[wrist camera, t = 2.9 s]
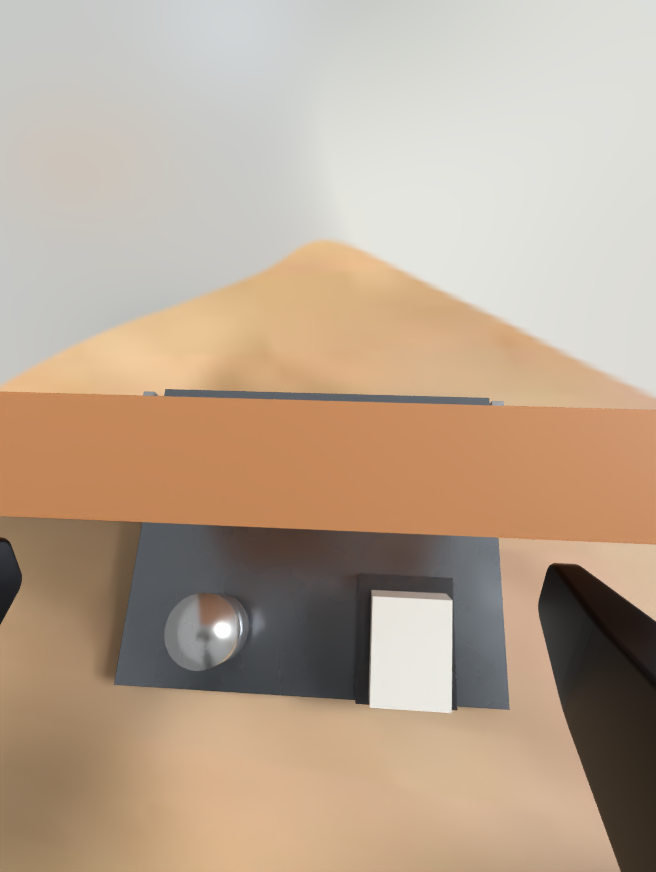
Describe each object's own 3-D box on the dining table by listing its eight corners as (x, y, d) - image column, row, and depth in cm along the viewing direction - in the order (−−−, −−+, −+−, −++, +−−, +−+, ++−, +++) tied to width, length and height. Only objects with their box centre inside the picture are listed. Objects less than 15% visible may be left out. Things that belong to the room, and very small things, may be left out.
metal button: (245, 664, 16) (231, 672, 14) (181, 660, 16) (158, 668, 14) (252, 595, 17) (239, 594, 15) (190, 592, 17) (170, 591, 15)
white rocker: (445, 698, 15) (451, 713, 14) (368, 693, 15) (369, 707, 14) (445, 593, 15) (452, 600, 14) (371, 589, 16) (372, 596, 15)
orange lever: (476, 470, 18) (687, 545, 6) (167, 459, 18) (-131, 510, 7) (478, 421, 18) (693, 411, 6) (168, 412, 18) (-130, 387, 7)
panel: (500, 703, 16) (531, 725, 14) (127, 679, 17) (83, 695, 14) (482, 407, 20) (504, 375, 17) (173, 398, 21) (145, 366, 18)
